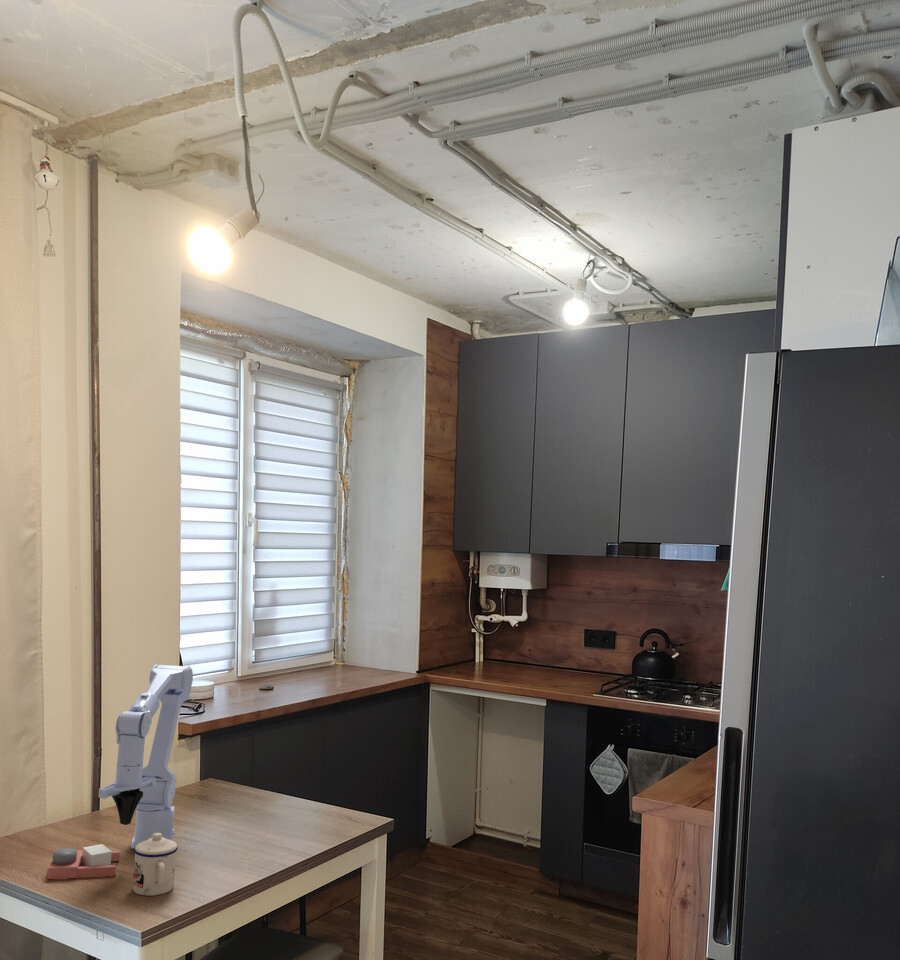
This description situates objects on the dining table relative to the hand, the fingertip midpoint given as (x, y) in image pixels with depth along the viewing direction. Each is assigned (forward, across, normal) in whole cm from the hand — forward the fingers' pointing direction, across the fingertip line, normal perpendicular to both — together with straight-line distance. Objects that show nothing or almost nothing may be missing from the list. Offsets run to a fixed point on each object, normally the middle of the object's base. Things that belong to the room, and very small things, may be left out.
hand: (125, 823), depth 201 cm
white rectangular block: (+10, +4, -4) cm, 12 cm away
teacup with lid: (+10, +4, +16) cm, 20 cm away
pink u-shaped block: (+10, +6, -5) cm, 13 cm away
